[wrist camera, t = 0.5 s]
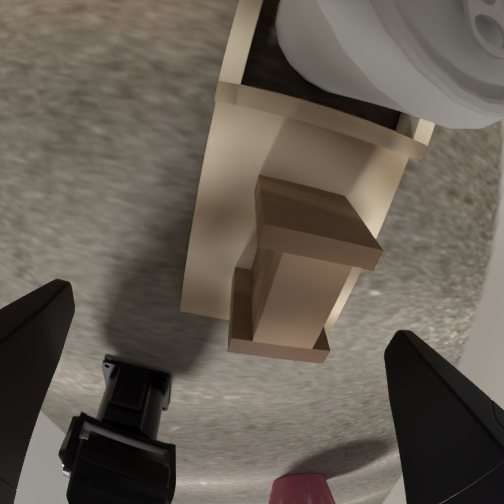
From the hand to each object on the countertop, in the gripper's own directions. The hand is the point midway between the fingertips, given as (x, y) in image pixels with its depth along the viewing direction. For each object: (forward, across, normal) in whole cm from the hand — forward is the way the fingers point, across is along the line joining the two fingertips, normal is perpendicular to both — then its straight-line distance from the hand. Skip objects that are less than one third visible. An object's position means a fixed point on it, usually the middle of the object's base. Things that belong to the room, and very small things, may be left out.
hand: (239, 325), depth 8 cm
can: (+12, -4, -10) cm, 16 cm away
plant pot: (+13, -19, +48) cm, 53 cm away
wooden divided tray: (+12, -3, -2) cm, 12 cm away
